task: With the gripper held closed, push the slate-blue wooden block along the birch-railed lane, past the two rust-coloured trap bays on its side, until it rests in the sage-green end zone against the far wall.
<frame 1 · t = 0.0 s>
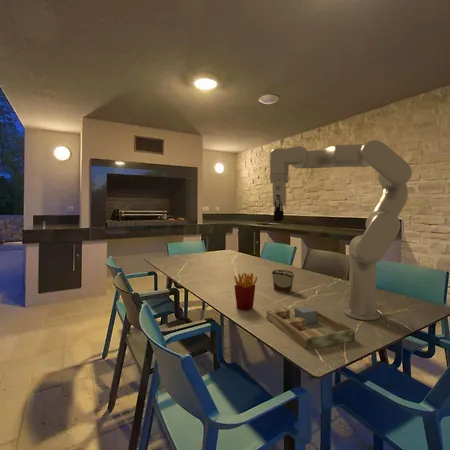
hand: (278, 220, 119), 37 cm above the table, tool pointing down, fingers open, 9 cm apart
food container: (285, 290, 146), on the table
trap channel: (306, 328, 101), on the table
block: (305, 320, 107), resting in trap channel
french fries: (244, 307, 122), on the table
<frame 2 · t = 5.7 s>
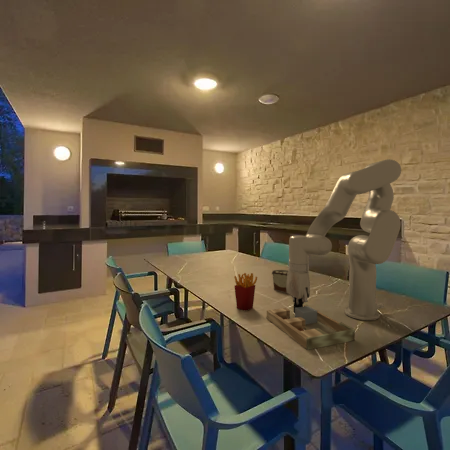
hand: (298, 313, 112), 1 cm above the table, tool pointing down, fingers closed
block: (305, 320, 107), resting in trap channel, touching gripper
everything else where it was.
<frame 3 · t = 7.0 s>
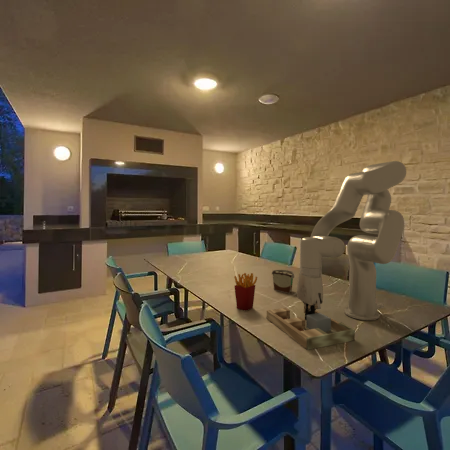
hand: (309, 320, 105), 1 cm above the table, tool pointing down, fingers closed
block: (318, 329, 100), resting in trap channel, touching gripper
everything else where it was.
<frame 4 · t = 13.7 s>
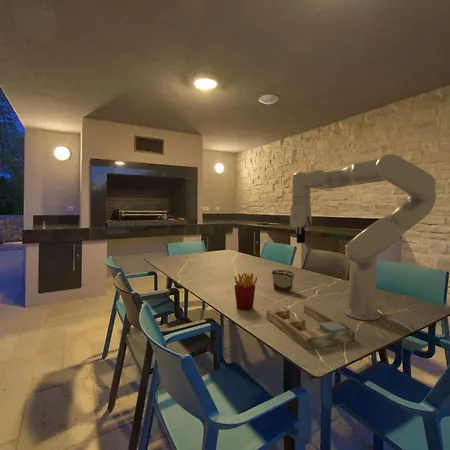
hand: (300, 242, 125), 27 cm above the table, tool pointing down, fingers closed
block: (332, 339, 93), resting in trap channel
everything else where it was.
at the end: block inside the target area (0.8 cm from its centre), resting in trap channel; block tilted 0°; block moved 15.6 cm from its start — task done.
